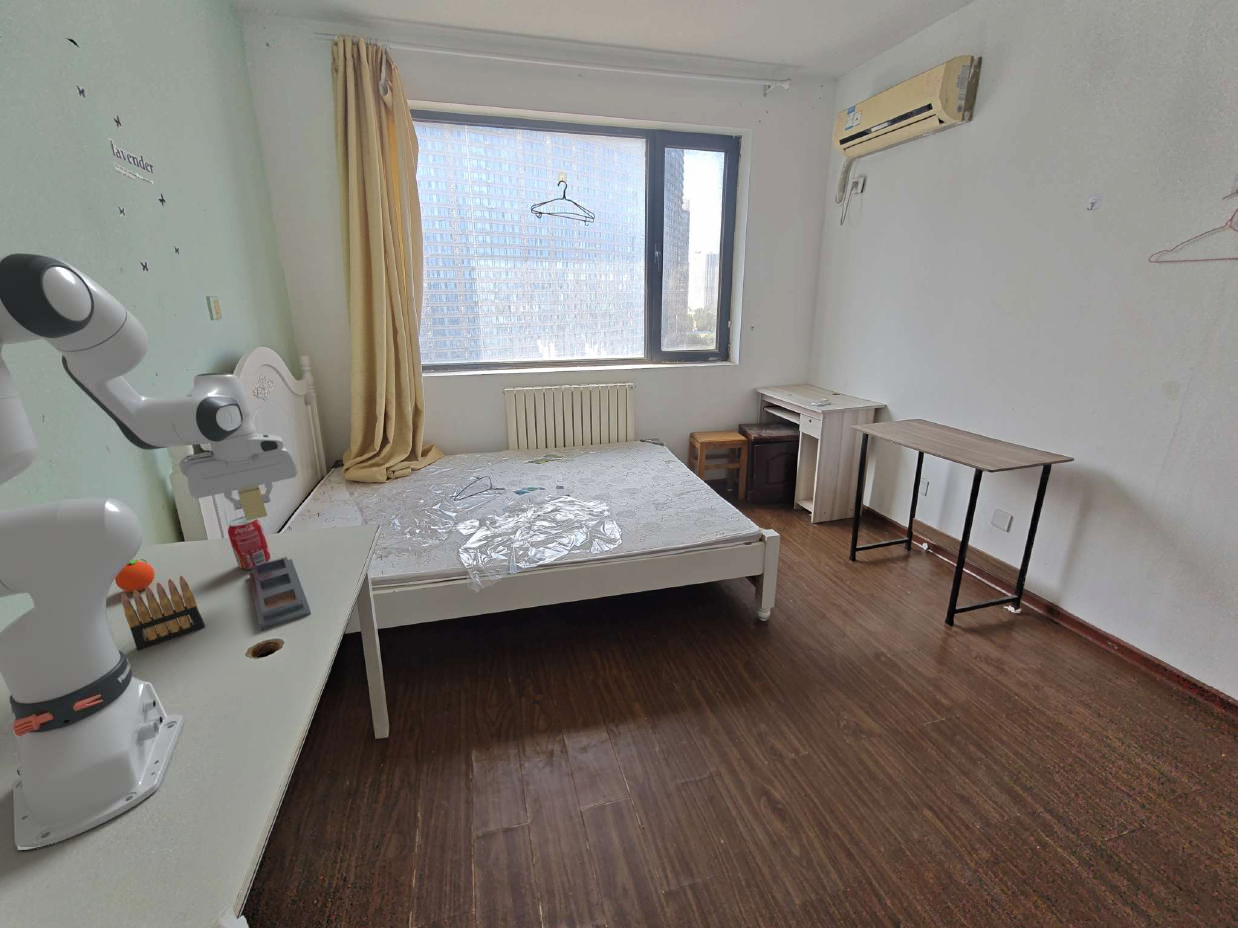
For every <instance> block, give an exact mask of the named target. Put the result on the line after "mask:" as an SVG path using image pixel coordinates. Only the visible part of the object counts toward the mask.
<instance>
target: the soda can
mask: <svg viewBox="0 0 1238 928" xmlns="http://www.w3.org/2000/svg"><path fill="white" fill-rule="evenodd" d="M227 535H228V537H229V541H230V544H231V549H232V551H233V554H234V557H235V560H236V562H237V565H238V567H239V568H242V569H245V570H253V568H252V567H253V566H256V565H260V564H263V563H266V562H269V561H270V560H271V553H270V547H269V545H268V542H267V537H266V534H265V530H264V527H263V526H262V522H261V521H259V520H258V518H257V519H253V520H249V521H246V518H245V515H244V516H240V517H238V518H235V519H232V520H231V521H229V523H228V529H227Z"/></svg>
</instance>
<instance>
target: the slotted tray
mask: <svg viewBox="0 0 1238 928" xmlns="http://www.w3.org/2000/svg"><path fill="white" fill-rule="evenodd" d="M252 568H253V569H251V570H249V571H248V573H249V578H250V583H251V589H252V595H253V599H254V605H255V610H256V616H257V621H258V626H259V629H260V631H265V630H267V629H270V628H272V627H276V626H278V625H282V624H284V623H288V622H290V621H293V620H296V619H299V618H302V617H305V616H308V615H311V614H312V613H311V612H312V611H311V609H310V605H309V602H308V599H307V597H306V594H305V592H304V589H303V586H302V583H301V580H300V578H299V575H298V572H297V570H296V567H295V565H294V561H293V559H292V558H290V559H288V557H287V556H285V557H281V558H278V559H274V560H271V561H270V560H269V561H267V563H263V564H260V565H256V566H253V567H252Z"/></svg>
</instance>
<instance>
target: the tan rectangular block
mask: <svg viewBox="0 0 1238 928" xmlns="http://www.w3.org/2000/svg"><path fill="white" fill-rule="evenodd" d="M237 493H238V497H239V499H240V501H241V504H242V511H243V514H244V516H245V518H246V521H249V520H253V519H257V520H258V519H260V518H264V517H268V514H267V510H266V507H265V503H263V499H262V496H261V495H262V492H261V489H260V485H258V486H253V487H248V488H244V489H239V490H237Z"/></svg>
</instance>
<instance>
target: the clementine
mask: <svg viewBox="0 0 1238 928" xmlns="http://www.w3.org/2000/svg"><path fill="white" fill-rule="evenodd" d="M155 576H156V575H155V570H154V568H153V566H152V565H150V564H149V563H148V562H147V561H146V560H145V559H143V558H142V559H135V560H131V561H130V562H129V563H128V564H127V565H126V566H125V567H124V568H123V569H122V570H121V571H120V572H119V574H118V575H117V576H116V578H115V579H114V580H115V584H116V587H118V588H120V589H121V590H122V591H125V592H131V593H132V592H133V591H134V590H137V591H138V592H139V591H142V590H145V587H146V586H148V587H149V586H150V585H151V584H152V582H153V581H154V579H155Z"/></svg>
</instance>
